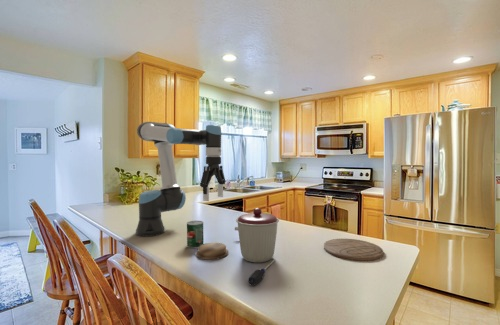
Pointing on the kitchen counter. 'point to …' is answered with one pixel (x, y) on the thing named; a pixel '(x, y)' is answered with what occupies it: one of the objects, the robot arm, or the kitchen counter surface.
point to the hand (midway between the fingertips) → (213, 198)
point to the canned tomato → (194, 234)
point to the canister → (257, 235)
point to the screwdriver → (258, 275)
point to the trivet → (353, 249)
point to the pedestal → (212, 251)
